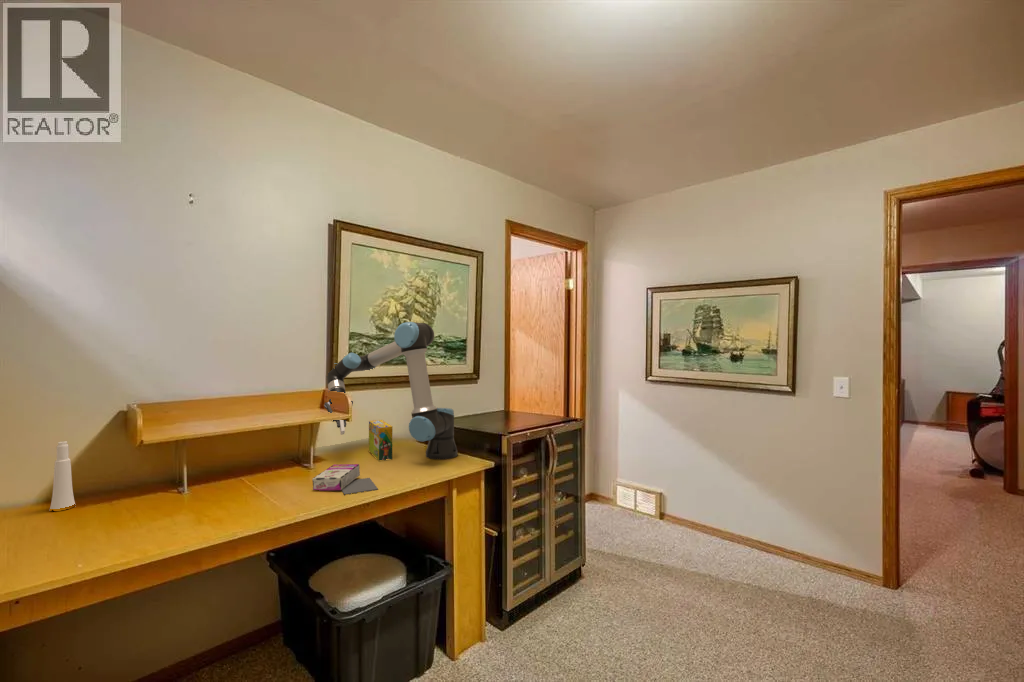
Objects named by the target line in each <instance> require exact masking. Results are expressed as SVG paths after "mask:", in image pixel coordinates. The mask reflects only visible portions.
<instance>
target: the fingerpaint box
mask: <svg viewBox="0 0 1024 682" xmlns="http://www.w3.org/2000/svg"><path fill="white" fill-rule="evenodd" d="M369 451H370V452H371V453H372V454H373V455H374V456H375V457H376V458H377V459H378V460H384V461H387V460H386V459H391V460H393V425H392V424H391V425H390V424H389V423H388V422H386V421H384V420H383V419H373V420H369V421H368V452H369ZM370 452H369V453H370ZM371 453H370V454H371ZM372 454H371V455H372ZM373 455H372V456H373ZM374 456H373V457H374ZM375 457H374V458H375ZM376 458H375V459H376ZM377 459H376V460H377ZM378 460H377V461H378Z"/></svg>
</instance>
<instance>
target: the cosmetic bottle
mask: <svg viewBox="0 0 1024 682" xmlns="http://www.w3.org/2000/svg"><path fill="white" fill-rule="evenodd" d="M71 462H72V461H71V458H69V444H68V441H65V440H64V441H59V442H57V444H56V459H55V461H54V467H53V484H52V485H53V486H52V496H51V503H50V507H49V510H50V509H60V508H65V507H69V506H72V505H74V504H75V505H76V502H75V501H76V500H75V497H74V490H73V488H74V487H73V477H72V476H73V475H72V474H73V473H72V463H71Z"/></svg>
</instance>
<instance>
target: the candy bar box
mask: <svg viewBox="0 0 1024 682" xmlns="http://www.w3.org/2000/svg"><path fill="white" fill-rule="evenodd" d="M360 476H361V472H360V464H359V463H357V464H356V463H355V464H353V463H352V464H351V463H350V464H346V463H345V464H343V463H342V464H341V463H340V464H332V465H331V466H329V467H328V468H326V469H325V470H324V471H321V472H320V473H318V474H317V475H316V476H314V477H313V478H311V479H312V491H313V490H319V491H342V489H343V488H344V487H346V486H347V485H348V484H349V483H351V482H352V481H353V480H357V478H358V477H360Z"/></svg>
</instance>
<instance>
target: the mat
mask: <svg viewBox="0 0 1024 682" xmlns="http://www.w3.org/2000/svg"><path fill="white" fill-rule="evenodd" d="M372 490H373V491H377V490H379V487H377V485H376V484H375V483H374V481H373V480H372V479H371V478H370V477H365V478H359V479H357V478H356V479H354V480H353V481H352V482H351V483H349V484H348V485H347V486H346V487H344V488H343V489H342V490H341V492H342V494H343V493H344V494H343V496H346V495H345V494H349V495H352V494H351V493H355V494H358V493H357V492H361V493H365V492H364V491H367V492H371V491H372Z"/></svg>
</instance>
